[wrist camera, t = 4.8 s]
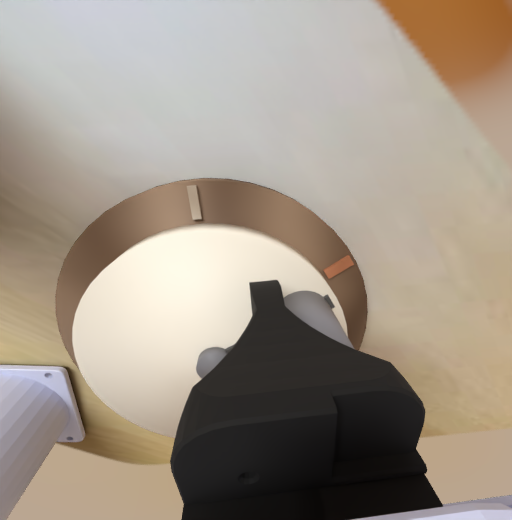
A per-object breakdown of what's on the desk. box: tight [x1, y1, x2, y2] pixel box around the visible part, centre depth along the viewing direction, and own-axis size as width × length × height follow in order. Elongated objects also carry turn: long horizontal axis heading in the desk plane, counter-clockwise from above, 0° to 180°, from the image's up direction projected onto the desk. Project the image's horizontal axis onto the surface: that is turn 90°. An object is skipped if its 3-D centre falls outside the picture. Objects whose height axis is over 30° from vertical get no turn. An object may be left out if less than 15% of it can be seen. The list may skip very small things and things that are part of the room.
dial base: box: [55, 178, 367, 369], centre depth 16 cm, size 19×19×1 cm
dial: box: [72, 223, 354, 438], centre depth 13 cm, size 15×15×5 cm
